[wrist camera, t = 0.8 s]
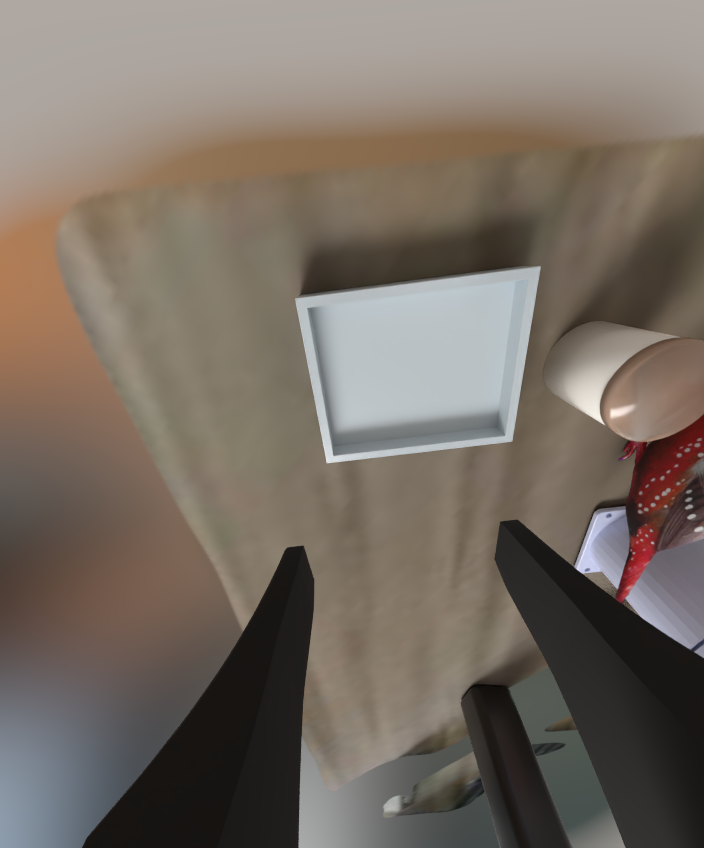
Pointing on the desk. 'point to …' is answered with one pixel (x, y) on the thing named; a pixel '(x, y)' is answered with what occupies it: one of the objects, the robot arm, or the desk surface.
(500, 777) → the wine bottle
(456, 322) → the tray
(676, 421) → the espresso cup
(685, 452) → the decorative bird figurine
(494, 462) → the desk surface
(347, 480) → the desk surface
